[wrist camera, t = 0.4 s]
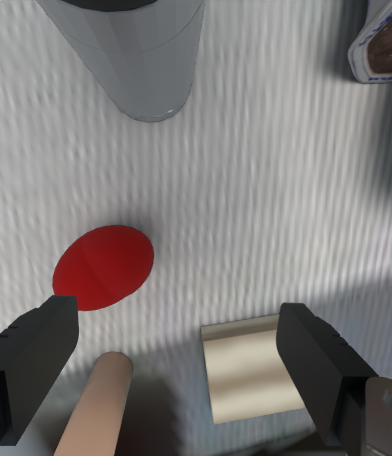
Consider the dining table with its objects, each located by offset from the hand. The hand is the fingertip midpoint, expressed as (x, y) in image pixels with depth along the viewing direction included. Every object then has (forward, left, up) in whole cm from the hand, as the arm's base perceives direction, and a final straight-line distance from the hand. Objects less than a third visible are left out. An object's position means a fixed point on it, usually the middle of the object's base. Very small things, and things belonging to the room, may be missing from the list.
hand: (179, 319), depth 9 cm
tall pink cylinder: (+17, -11, -20) cm, 28 cm away
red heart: (+1, -7, -20) cm, 21 cm away
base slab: (+19, +7, -20) cm, 29 cm away
